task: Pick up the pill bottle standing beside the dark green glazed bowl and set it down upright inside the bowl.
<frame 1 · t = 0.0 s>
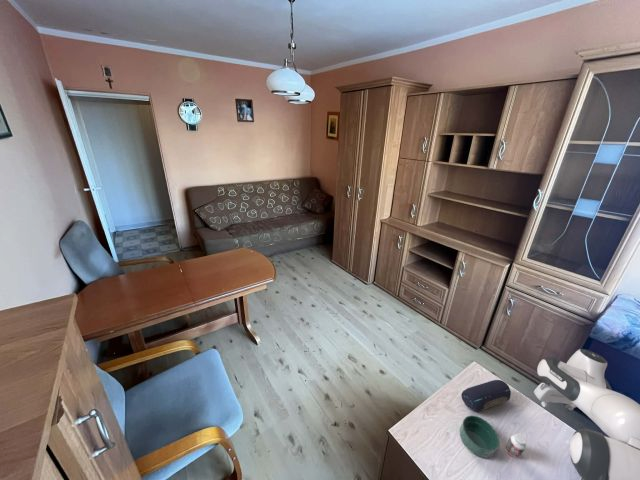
hand: (556, 406, 106), 27 cm above the table, tool pointing down, fingers open, 8 cm apart
pill bottle: (512, 451, 115), on the table
bowl: (476, 439, 118), on the table
portable speaker: (483, 401, 134), on the table
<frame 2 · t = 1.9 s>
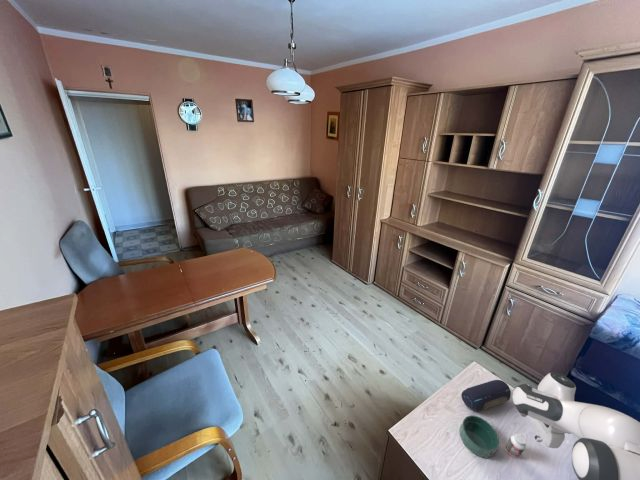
hand: (529, 427, 107), 18 cm above the table, tool pointing down, fingers open, 8 cm apart
nothing on the table moved.
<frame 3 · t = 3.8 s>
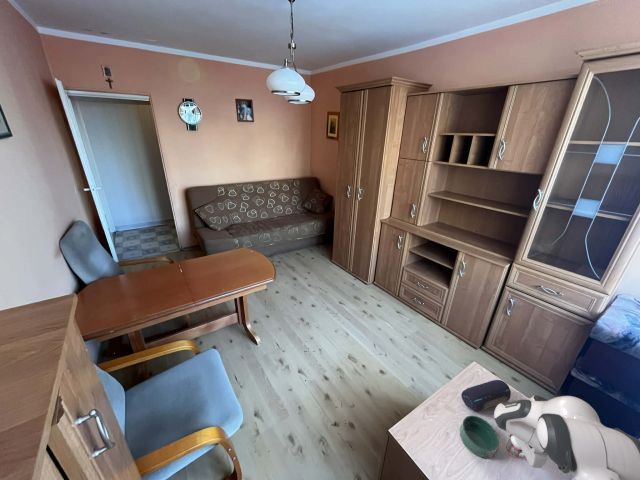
hand: (515, 445, 113), 4 cm above the table, tool pointing down, fingers closed on pill bottle, 5 cm apart
pill bottle: (512, 451, 115), on the table, touching gripper
everything else where it was.
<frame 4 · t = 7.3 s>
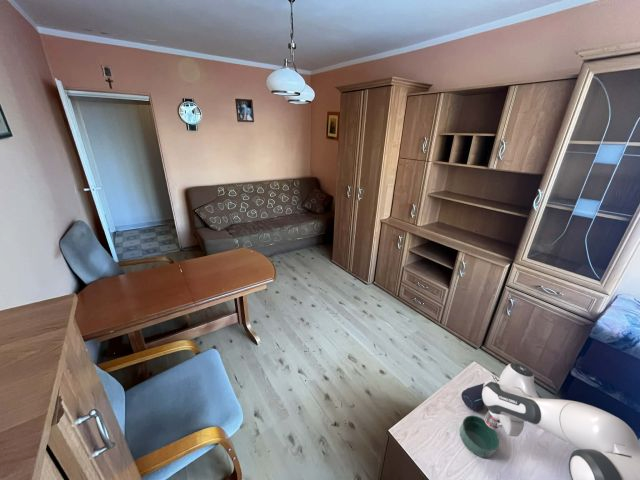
hand: (494, 417, 110), 18 cm above the table, tool pointing down, fingers closed on pill bottle, 5 cm apart
pill bottle: (490, 423, 111), point 14 cm above the table, touching gripper
everything else where it was.
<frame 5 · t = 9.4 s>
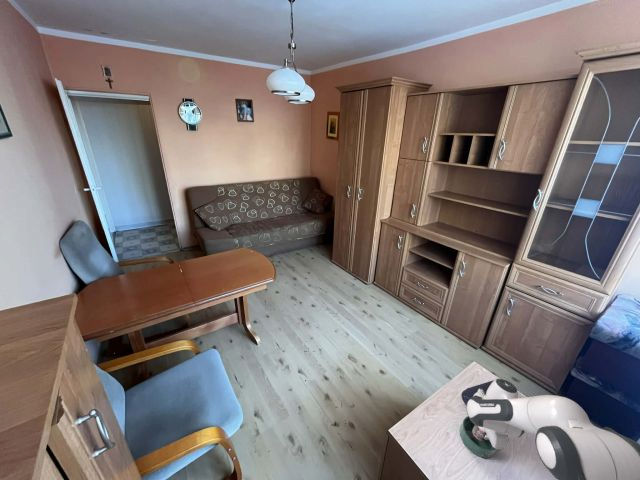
hand: (481, 429, 114), 8 cm above the table, tool pointing down, fingers closed on pill bottle, 5 cm apart
pill bottle: (478, 434, 116), point 4 cm above the table, touching gripper
everything else where it was.
when the fingers open (4 cm above the table, at t = 10.8 s): pill bottle stays where it is, resting on bowl.
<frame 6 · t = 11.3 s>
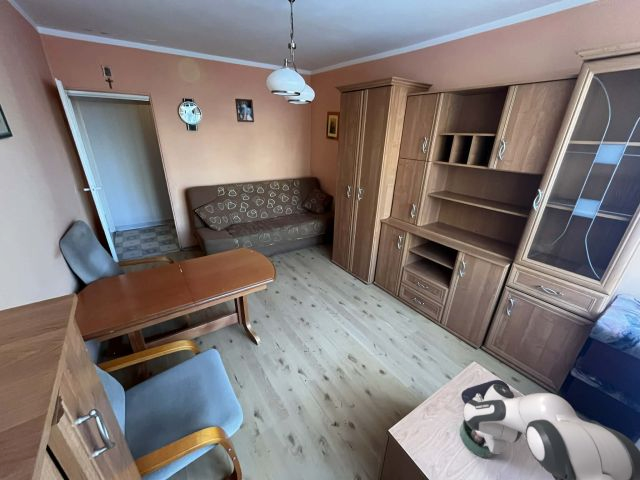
hand: (479, 433, 116), 5 cm above the table, tool pointing down, fingers open, 8 cm apart
pill bottle: (476, 439, 118), resting on bowl
everything else where it was.
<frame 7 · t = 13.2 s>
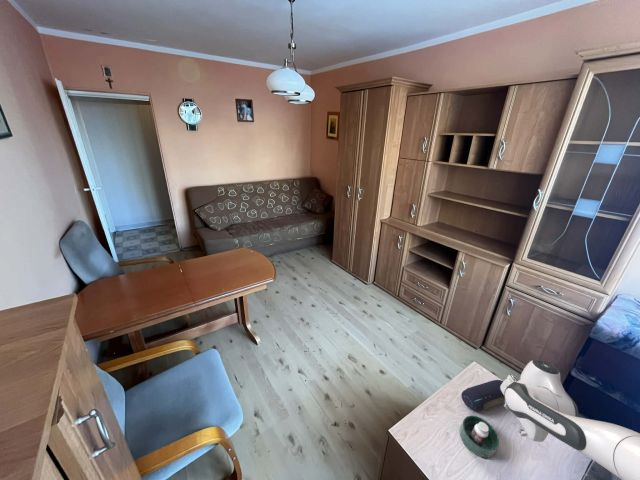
hand: (514, 420, 100), 27 cm above the table, tool pointing down, fingers open, 8 cm apart
nothing on the table moved.
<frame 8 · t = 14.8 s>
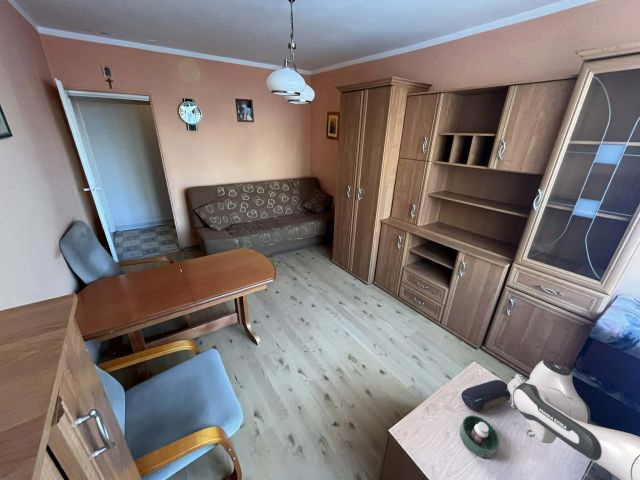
hand: (521, 420, 98), 29 cm above the table, tool pointing down, fingers open, 8 cm apart
nothing on the table moved.
at the end: pill bottle inside the target area in the bowl (0.0 cm from its centre), point 0.3 cm above the bowl's base; pill bottle tilted 0°; the gripper is holding nothing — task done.
